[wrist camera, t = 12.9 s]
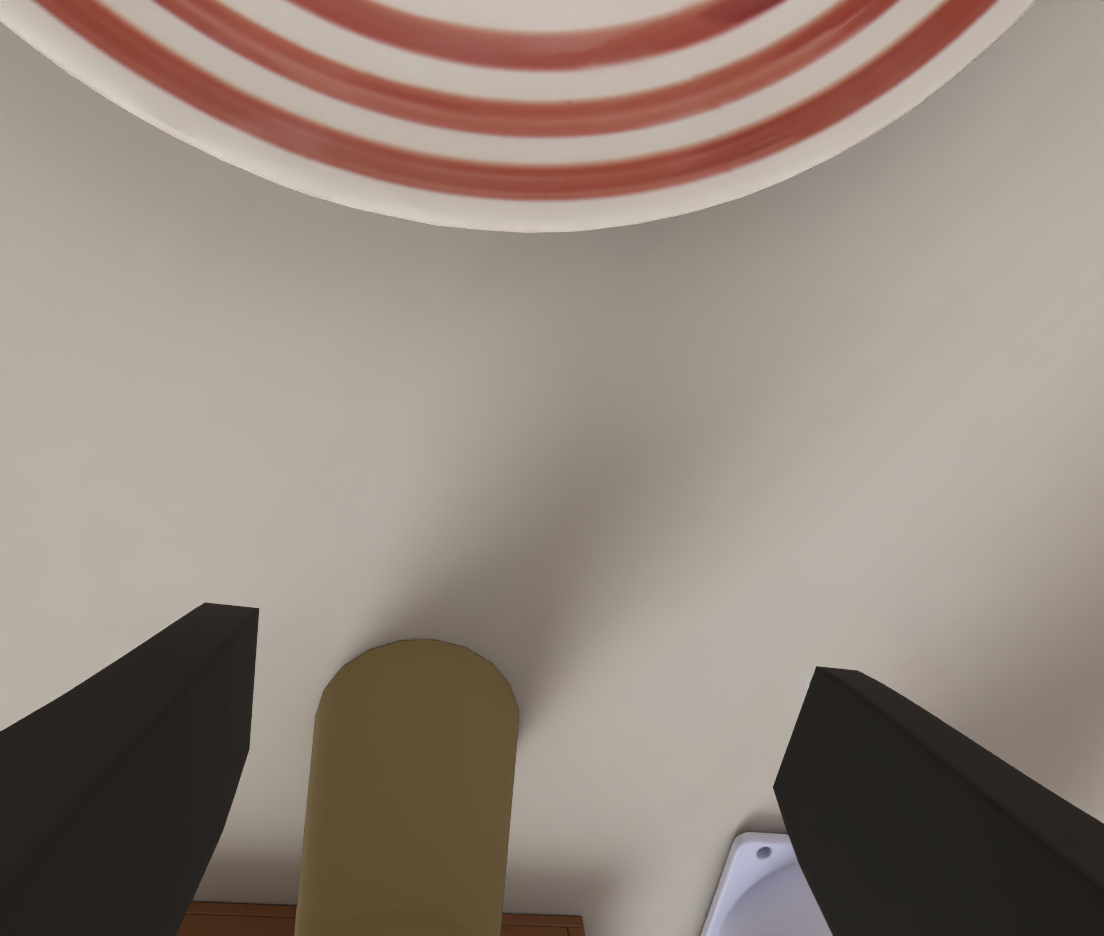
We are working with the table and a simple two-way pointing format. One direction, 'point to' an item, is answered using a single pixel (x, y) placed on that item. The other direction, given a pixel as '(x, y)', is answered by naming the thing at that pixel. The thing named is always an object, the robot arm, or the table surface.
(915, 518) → the table surface
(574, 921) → the tray
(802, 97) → the dinner plate
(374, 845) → the olive rounded cylinder
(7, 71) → the table surface
